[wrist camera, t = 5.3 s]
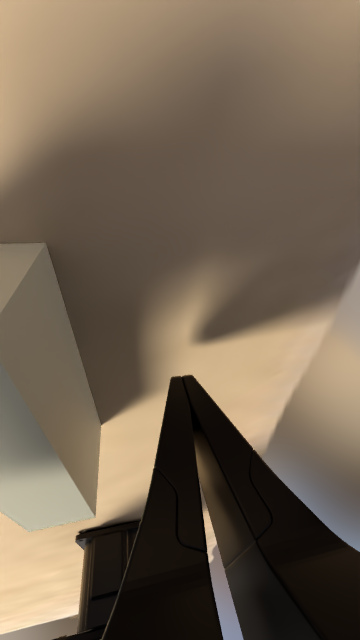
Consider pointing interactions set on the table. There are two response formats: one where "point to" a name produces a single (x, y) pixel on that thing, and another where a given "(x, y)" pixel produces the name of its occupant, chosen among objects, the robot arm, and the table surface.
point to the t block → (42, 399)
